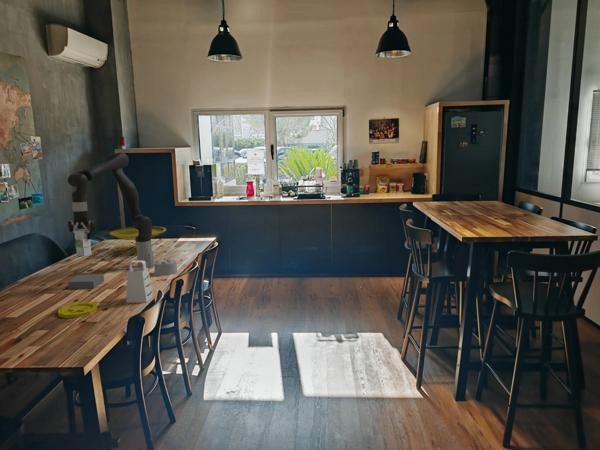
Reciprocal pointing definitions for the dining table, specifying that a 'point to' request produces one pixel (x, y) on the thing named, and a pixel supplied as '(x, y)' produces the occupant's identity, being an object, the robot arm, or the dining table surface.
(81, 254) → the syrup box
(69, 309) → the decorative disc
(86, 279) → the charcoal plinth
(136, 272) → the grater
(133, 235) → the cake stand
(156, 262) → the lumpy-topped squat cylinder
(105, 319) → the dining table surface
